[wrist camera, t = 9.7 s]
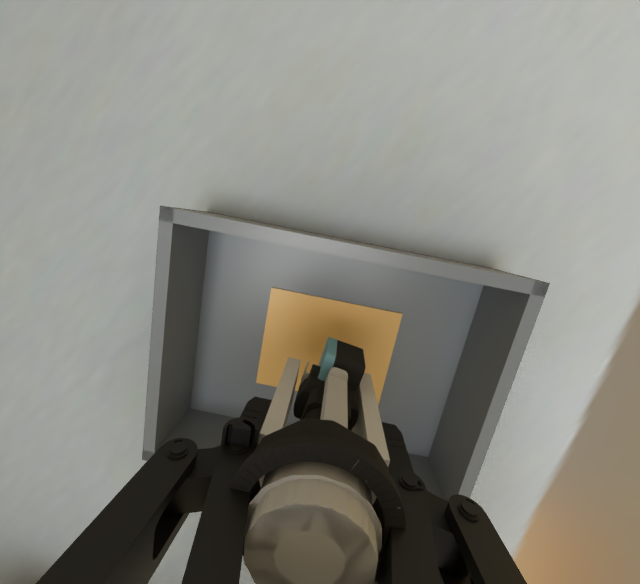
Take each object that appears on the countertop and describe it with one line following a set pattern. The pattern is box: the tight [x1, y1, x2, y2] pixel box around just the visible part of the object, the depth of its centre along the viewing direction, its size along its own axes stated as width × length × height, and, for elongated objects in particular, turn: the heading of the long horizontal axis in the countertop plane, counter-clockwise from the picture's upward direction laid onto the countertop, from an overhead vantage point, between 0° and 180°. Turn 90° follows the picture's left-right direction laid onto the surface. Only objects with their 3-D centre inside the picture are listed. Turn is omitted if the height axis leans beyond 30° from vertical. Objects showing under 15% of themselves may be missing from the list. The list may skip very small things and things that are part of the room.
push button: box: [230, 337, 406, 584], centre depth 13 cm, size 7×5×10 cm
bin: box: [142, 206, 550, 501], centre depth 21 cm, size 17×22×6 cm
